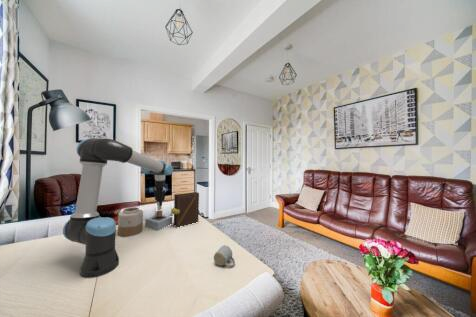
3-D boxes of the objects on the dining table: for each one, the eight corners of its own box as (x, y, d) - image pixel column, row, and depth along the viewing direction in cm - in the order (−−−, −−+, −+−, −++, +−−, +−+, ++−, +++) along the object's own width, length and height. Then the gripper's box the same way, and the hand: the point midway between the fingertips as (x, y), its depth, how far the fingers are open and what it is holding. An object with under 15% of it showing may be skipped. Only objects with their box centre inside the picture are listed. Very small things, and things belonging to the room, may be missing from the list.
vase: (121, 228, 134) (122, 206, 134) (144, 227, 139) (144, 205, 138) (114, 237, 119) (115, 213, 119) (139, 235, 124) (140, 211, 124)
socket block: (172, 224, 145) (172, 216, 145) (158, 230, 133) (158, 221, 133) (159, 221, 151) (159, 213, 151) (145, 227, 139) (145, 218, 139)
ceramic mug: (212, 264, 93) (213, 250, 93) (220, 256, 101) (221, 243, 101) (230, 271, 89) (231, 255, 89) (237, 262, 96) (238, 248, 96)
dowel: (163, 219, 143) (163, 210, 143) (158, 220, 139) (159, 212, 139) (159, 218, 145) (159, 210, 145) (154, 219, 141) (155, 211, 141)
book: (195, 220, 157) (195, 191, 156) (199, 223, 150) (200, 193, 150) (169, 225, 142) (170, 194, 142) (173, 229, 136) (174, 196, 136)
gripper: (169, 180, 142) (169, 209, 143) (158, 178, 148) (157, 207, 148) (162, 181, 136) (161, 212, 136) (150, 179, 141) (149, 209, 141)
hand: (159, 209), depth 142 cm, fingers closed
